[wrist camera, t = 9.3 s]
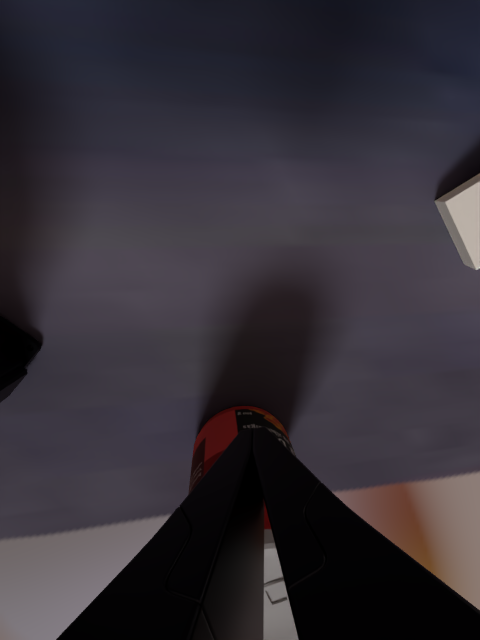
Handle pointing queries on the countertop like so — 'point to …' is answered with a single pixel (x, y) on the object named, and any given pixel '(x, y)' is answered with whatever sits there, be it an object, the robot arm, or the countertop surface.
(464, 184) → the domino
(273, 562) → the canned food
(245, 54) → the countertop surface
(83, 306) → the countertop surface
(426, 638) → the robot arm
